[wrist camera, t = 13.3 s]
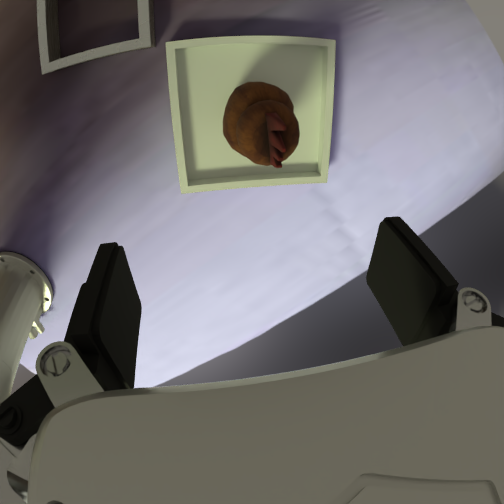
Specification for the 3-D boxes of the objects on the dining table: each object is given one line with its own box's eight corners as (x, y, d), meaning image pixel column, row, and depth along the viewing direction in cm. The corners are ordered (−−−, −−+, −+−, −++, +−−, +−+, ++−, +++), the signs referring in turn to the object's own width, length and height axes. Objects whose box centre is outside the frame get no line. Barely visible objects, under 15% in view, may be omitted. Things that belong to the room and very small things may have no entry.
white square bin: (155, 46, 25) (150, 46, 22) (54, 71, 23) (42, 74, 21) (152, -41, 18) (147, -49, 16) (49, -12, 17) (36, -15, 15)
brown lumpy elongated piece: (231, 71, 27) (255, 89, 15) (287, 86, 28) (349, 120, 16) (214, 133, 30) (222, 199, 19) (267, 145, 32) (309, 216, 20)
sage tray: (319, 173, 36) (326, 182, 34) (182, 184, 34) (181, 193, 32) (326, 39, 26) (335, 39, 24) (168, 42, 25) (165, 42, 23)
